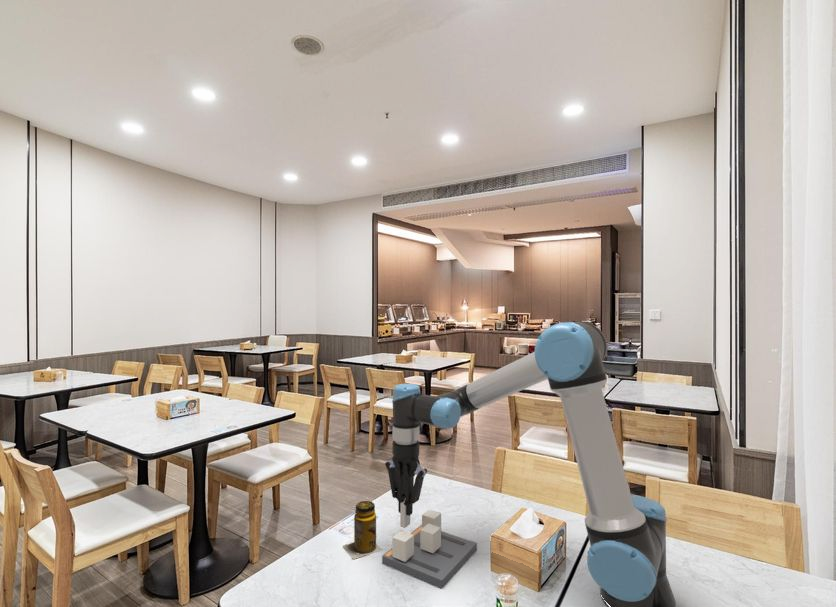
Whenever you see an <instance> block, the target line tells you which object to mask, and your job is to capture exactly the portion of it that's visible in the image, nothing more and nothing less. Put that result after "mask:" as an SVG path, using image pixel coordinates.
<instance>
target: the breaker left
mask: <svg viewBox="0 0 836 607" xmlns="http://www.w3.org/2000/svg"><path fill="white" fill-rule="evenodd" d="M410 533H411V532H407V531H404V530H400V531H399V532H397V533H396V534H395V535H394V536H392V537H391V538H392V544H391V545H392V546H391V547H392V557H394V558H397V559H399V560H402V561H404V562H406V561H407V560H408V559H409V558H410V557H411V556H412V555H414V535H413V534H410Z"/></svg>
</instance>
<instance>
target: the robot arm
mask: <svg viewBox="0 0 836 607" xmlns="http://www.w3.org/2000/svg"><path fill="white" fill-rule="evenodd" d="M607 354H608V343H607V339H606V336H605V335H604V333H603V332H602V330H601V329H600V328H599V327H597V326H596V325H595V324H592V323H590V322H587V321H564V322H558V323H556V324H553V325H551V326H549V327H547V328H546V329H545V330H544V331H543V332H542V333H540V335H539V336H538V339H537V340H536V342H535V346H534V351H533V352H531V353H529V354H527V355H525V356H523V357H521V358H518V359H516V360H514V361H512V362H511V363H508V364H507V365H504V366H502V367H500V368H498V369H496V370H494V371H492V372H490V373H487V374H486V375H484V376H482V377H480V378H478V379H476V380H473V381H471V382H470V383H468V384H465V385H463V386H461V387H459V388H456V389H454V390H451V391H448V392H445V393H442V394H439V395H429V394H422V393H421V388H420V386H419V385H418V384H414V383H401V384H400V383H399V384H396V385H395V386H394V387H393V389H392V390H393V391H392V392H393V393H392V401H391V402H392V436H391V437H392V440H393V441H392V448H391V449H392V452H391V453H392V459H390V460H388V461H386V462H385V463H384V464H385V467H386V470H387V472H388V477H389V478H388V479H389V485H390V489H391V490H390V491H391V496H392V498H393V499H396V500H397V502H398V505H397V506H398V513H399V515H400V516H399V517H400V521H399V522H400V523H399V526H400V527H401V528H403V529H406V528H407V527H408V526H409V525H411V515H412V514H413V510H414V509H413V506H414V504H415V503H417V502H418V501H419V500H420V497H421V491H422V488H423V482H424V479H425V476H426V474H427V473H428V469H427V468H423V467H422V466H421V462H420V458H419V456H420V441H419V440H420V426H421V425H420V424H425V425H429V426H432V427H437V428H440V429H453V428H455V427H456V426H457V424H459V421H460V419H461V417H464V416H466V415H467V416H468V415H469V414H472V413H474V412H475V411H478V410H479V409H482V408H483V407H484V408H485V407H487V406H489V405H491V404H494V403H496V402H497V401H500V400H502V399H505V398H508V397H509V396H512V395H514V394H516V393H519V392H520V391H523V390H525V389H528V388H530V387H533V386H534V385H535V386H536V385H537V384H540V383H542V382H544V381H546V380H547V381H548V384H549V389H550V391H551V392H552V393H554V394H556V395H557V396H558V397H559V398H560V402H561V405H562V410H563V412H564V417H565V420H566V425H567V429H568V431H569V432H568V433H569V436H570V441H571V444H572V448H573V452H574V455H575V459H576V462H577V467H578V472H579V474H580V480H581V482H582V487H583V490H584V494H585V498H586V501H587V505H588V506H587V507H588V510H589V512H587V515H586V516H585V517H584V525H585V530H586V533H587V536H588V537H587V538H588V540H589V544H590V547H589V550H588V551H587V558H586V560H587V562H586V563H587V568H588V571H589V573H590V576H591V577H592V579H593V581H594V582H595V583H596V584H597V586H598V587H600V588H599V589H600V591H601V593H600V596H601V595H602V597H603V598H604V600H605V601H606V602H607V603H608V604H609V605H610V606H611V607H677V606H676V603H677V602H676V598H675V596H674V593H673V591H672V587H671V585H670V584H671V583H670V581H669V579H668V576H667V528H666V527H667V526H666V524H667V522H668V520H667V516H666V509H665V507H664V506H663V505H662V504H661V503H660V502H657V501H656V500H654V499H652V498H648V497H646V496H642V495H637V494H632V493H631V491H630V487H629V484H628V480H627V477H626V473H625V468H624V465H623V461H622V458H621V454H620V450H619V447H618V443H617V439H616V435H615V433H614V429H613V426H612V425H613V424H612V422H611V418H610V415H609V411H608V408H607V404H606V400H605V396H604V392H603V387H604V385H606V383H607V381H608V378H607V375H606V370H605V366H604V363H603V362H604V360H605V358H606V356H607ZM415 475H416V476H415ZM414 478H415V479H414ZM602 597H601V598H602Z"/></svg>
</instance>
